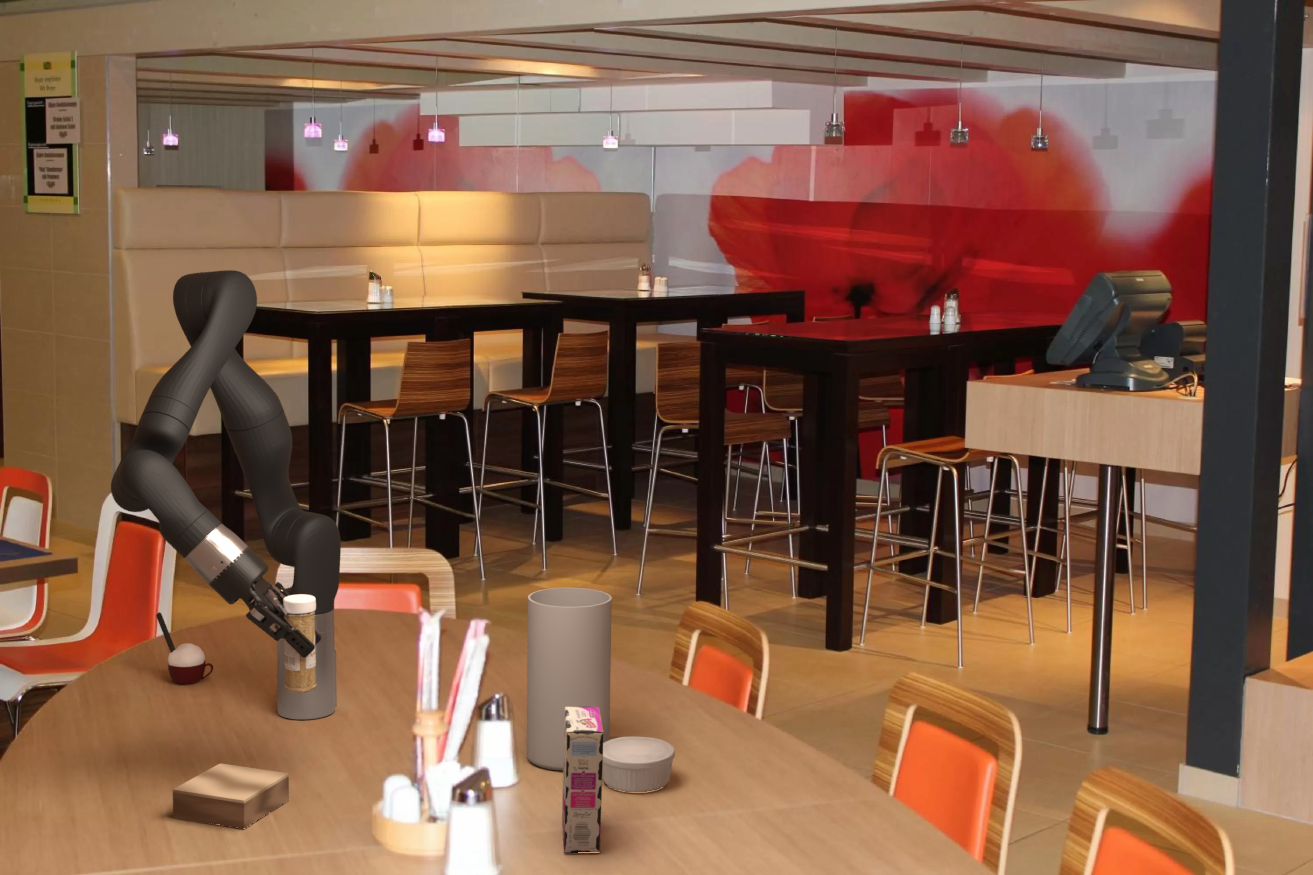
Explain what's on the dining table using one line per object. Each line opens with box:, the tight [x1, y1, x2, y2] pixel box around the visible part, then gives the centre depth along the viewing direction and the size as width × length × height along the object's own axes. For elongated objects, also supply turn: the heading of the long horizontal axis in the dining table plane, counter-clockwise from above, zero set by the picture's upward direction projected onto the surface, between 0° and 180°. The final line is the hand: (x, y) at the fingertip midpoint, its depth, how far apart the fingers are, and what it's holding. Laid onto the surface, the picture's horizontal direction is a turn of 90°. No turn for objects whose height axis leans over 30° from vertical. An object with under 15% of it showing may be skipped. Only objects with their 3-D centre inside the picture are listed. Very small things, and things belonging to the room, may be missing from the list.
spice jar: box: [283, 594, 317, 693], centre depth 220 cm, size 5×5×13 cm
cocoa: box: [155, 611, 214, 686], centre depth 269 cm, size 10×6×12 cm, turn 68°
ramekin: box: [602, 736, 676, 792], centre depth 225 cm, size 11×11×5 cm
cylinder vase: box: [525, 587, 613, 772], centre depth 233 cm, size 12×12×25 cm
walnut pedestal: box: [172, 762, 290, 829], centre depth 211 cm, size 11×11×4 cm
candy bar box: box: [561, 707, 603, 854], centre depth 203 cm, size 11×5×16 cm, turn 5°
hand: (313, 647), depth 220 cm, fingers closed on spice jar, 4 cm apart
